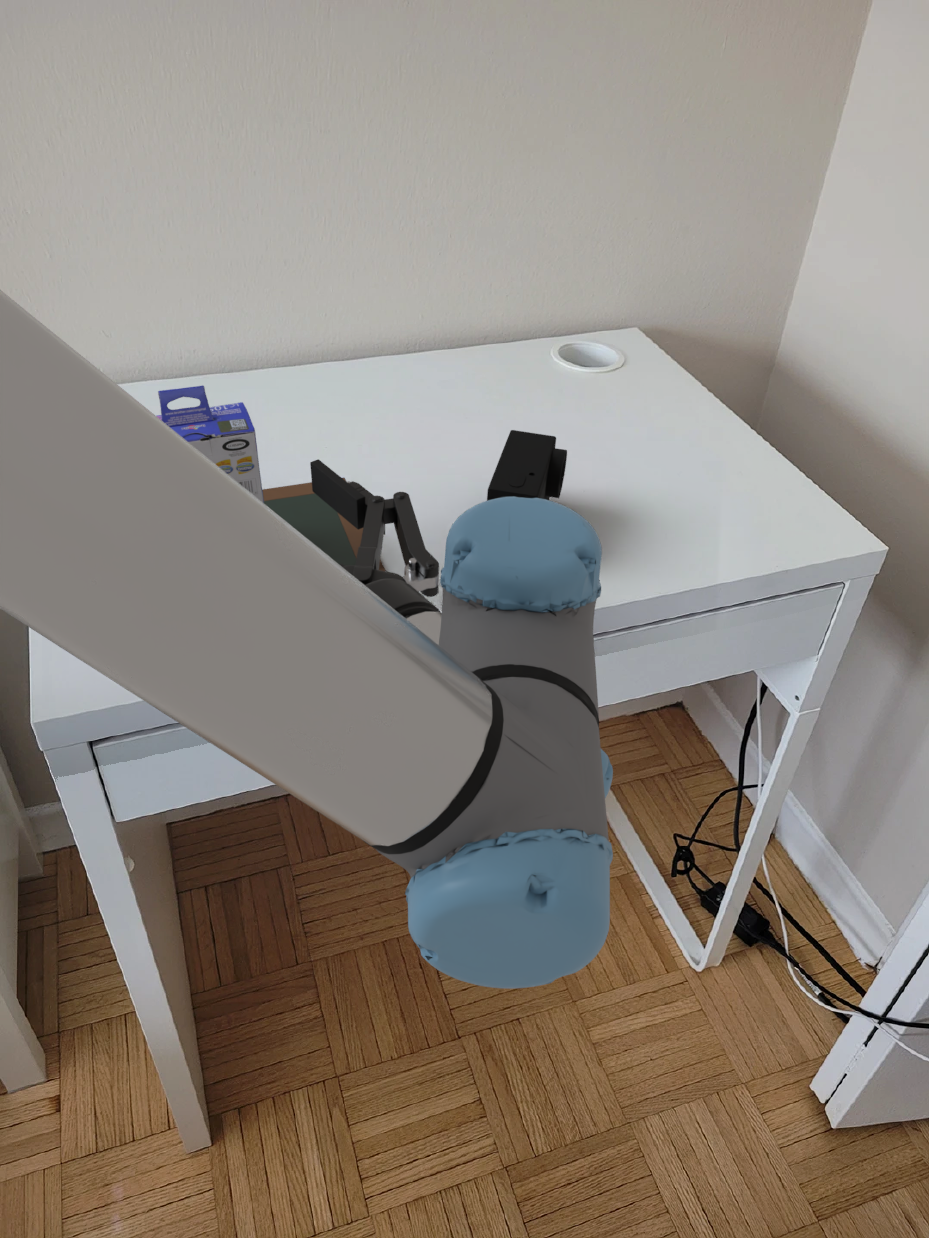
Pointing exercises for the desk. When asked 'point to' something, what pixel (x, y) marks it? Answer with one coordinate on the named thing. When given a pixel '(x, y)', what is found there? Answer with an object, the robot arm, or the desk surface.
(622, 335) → the desk surface
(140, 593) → the robot arm
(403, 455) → the desk surface
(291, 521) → the chalkboard
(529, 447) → the digital camera
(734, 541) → the desk surface
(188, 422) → the ink cartridge box
